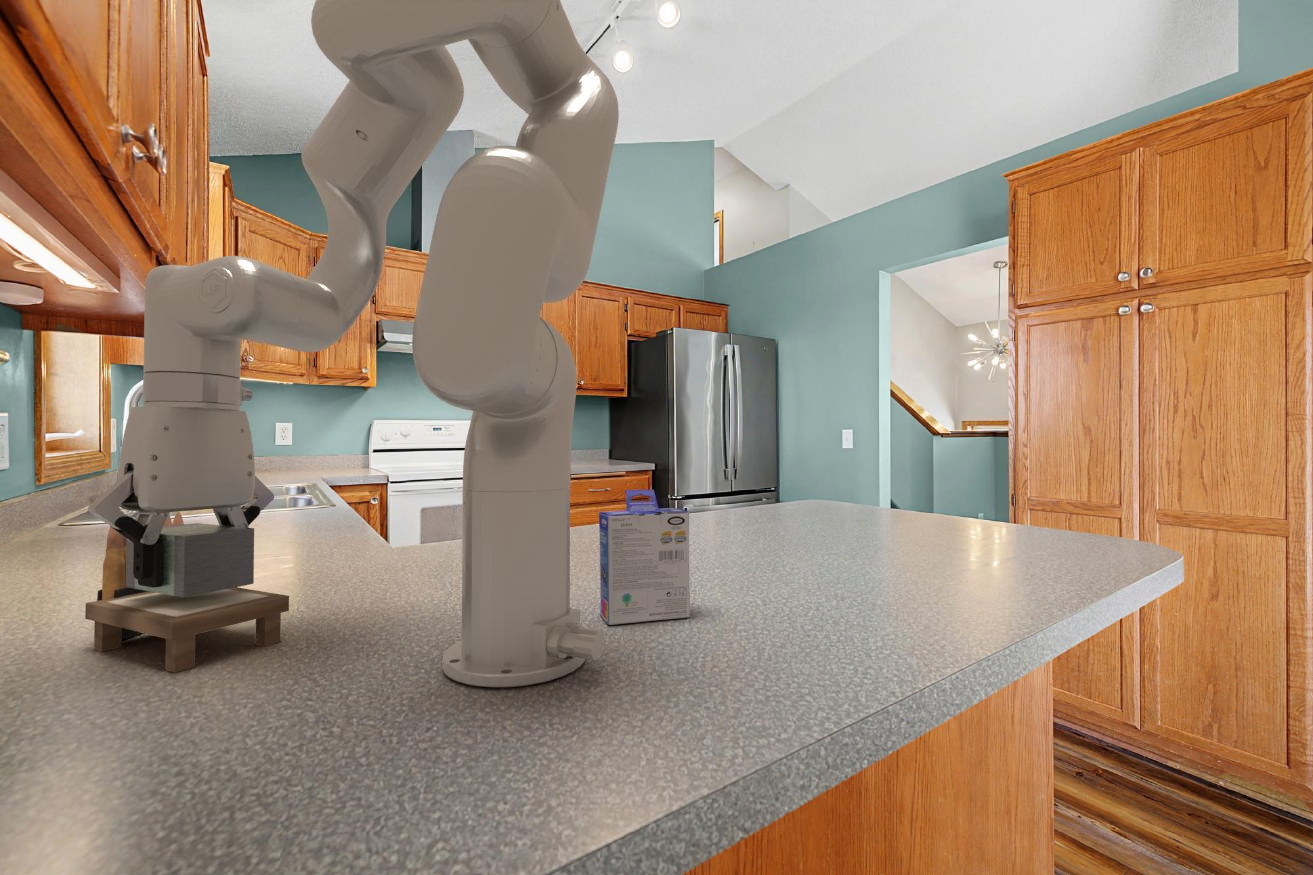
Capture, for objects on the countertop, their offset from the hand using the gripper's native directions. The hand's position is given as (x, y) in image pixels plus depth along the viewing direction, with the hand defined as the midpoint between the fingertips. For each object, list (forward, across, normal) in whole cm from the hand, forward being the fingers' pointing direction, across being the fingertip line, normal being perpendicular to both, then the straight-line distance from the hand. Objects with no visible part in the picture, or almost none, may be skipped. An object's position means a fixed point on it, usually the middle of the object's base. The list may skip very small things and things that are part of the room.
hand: (190, 576), depth 57 cm
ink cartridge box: (+7, -28, +36) cm, 46 cm away
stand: (+7, 0, 0) cm, 7 cm away
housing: (+1, 0, 0) cm, 1 cm away
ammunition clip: (+7, -1, -10) cm, 13 cm away
